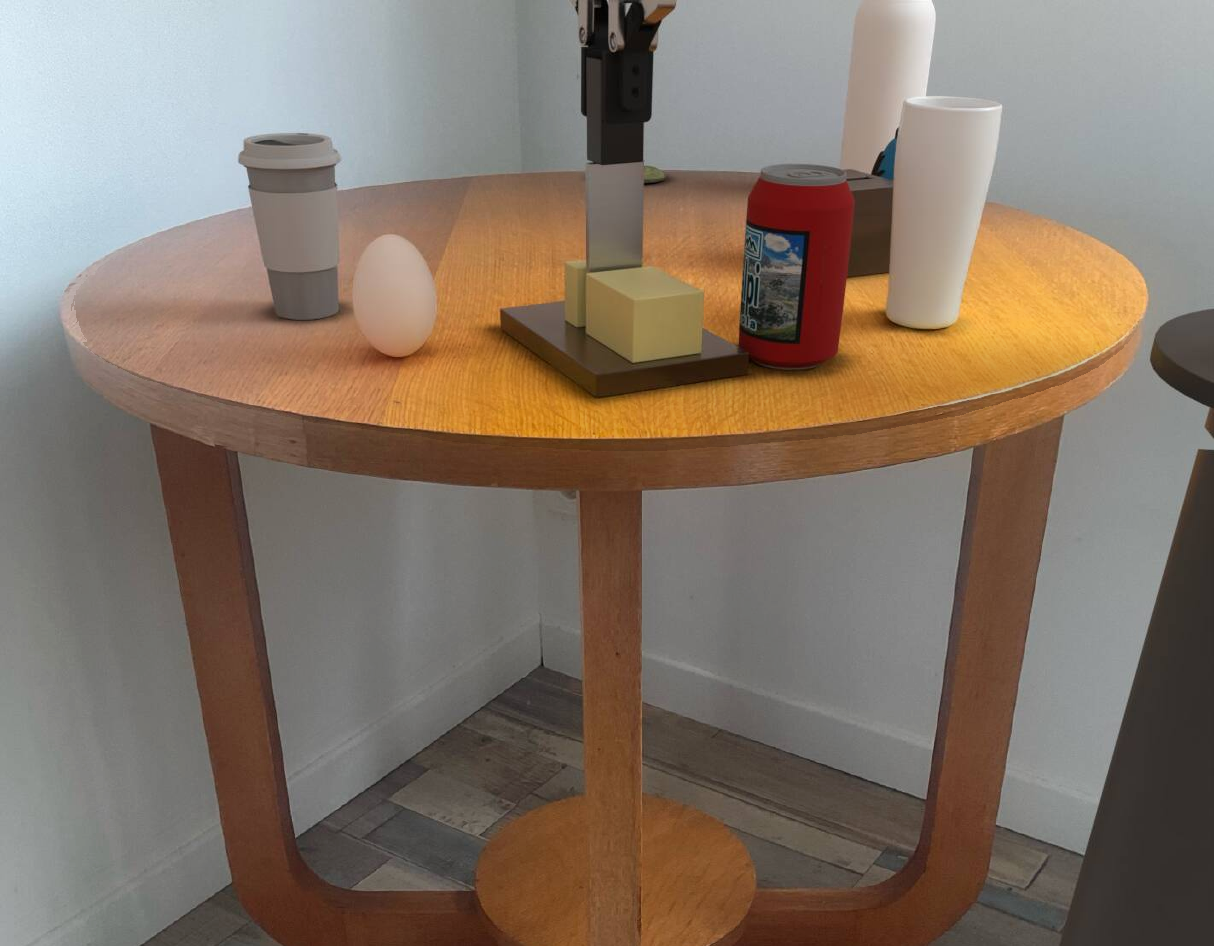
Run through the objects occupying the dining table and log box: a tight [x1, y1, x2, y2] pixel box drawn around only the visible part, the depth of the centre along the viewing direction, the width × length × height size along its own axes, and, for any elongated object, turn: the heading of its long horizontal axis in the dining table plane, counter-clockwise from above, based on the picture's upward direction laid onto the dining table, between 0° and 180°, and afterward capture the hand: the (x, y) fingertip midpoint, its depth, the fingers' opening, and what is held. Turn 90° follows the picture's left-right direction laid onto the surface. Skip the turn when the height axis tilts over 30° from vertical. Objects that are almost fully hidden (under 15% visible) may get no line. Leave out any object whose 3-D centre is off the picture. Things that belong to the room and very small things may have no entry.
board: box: [499, 300, 750, 398], centre depth 82 cm, size 16×11×2 cm
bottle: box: [838, 0, 937, 174], centre depth 123 cm, size 8×8×30 cm
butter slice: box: [564, 259, 644, 327], centre depth 83 cm, size 2×5×4 cm, turn 116°
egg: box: [351, 233, 438, 358], centre depth 79 cm, size 6×6×8 cm
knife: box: [584, 56, 645, 274], centre depth 78 cm, size 2×4×16 cm, turn 116°
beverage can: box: [737, 163, 855, 371], centre depth 79 cm, size 7×7×12 cm
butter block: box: [586, 265, 705, 363], centre depth 78 cm, size 7×5×4 cm
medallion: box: [644, 165, 667, 184], centre depth 137 cm, size 8×8×1 cm
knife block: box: [844, 169, 893, 278], centre depth 102 cm, size 8×7×7 cm
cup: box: [237, 132, 342, 321], centre depth 87 cm, size 7×7×12 cm
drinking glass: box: [885, 95, 1003, 330], centre depth 86 cm, size 7×7×15 cm
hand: (615, 116), depth 76 cm, fingers closed on knife, 2 cm apart
